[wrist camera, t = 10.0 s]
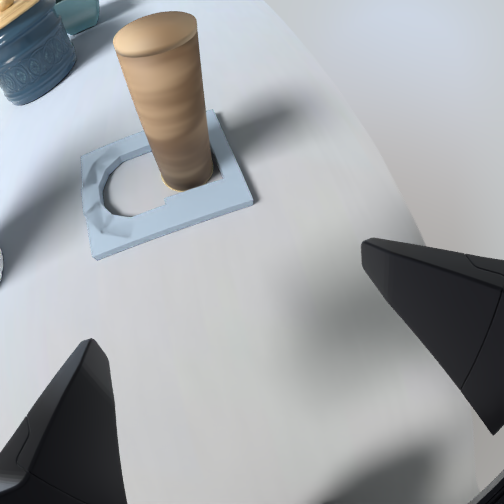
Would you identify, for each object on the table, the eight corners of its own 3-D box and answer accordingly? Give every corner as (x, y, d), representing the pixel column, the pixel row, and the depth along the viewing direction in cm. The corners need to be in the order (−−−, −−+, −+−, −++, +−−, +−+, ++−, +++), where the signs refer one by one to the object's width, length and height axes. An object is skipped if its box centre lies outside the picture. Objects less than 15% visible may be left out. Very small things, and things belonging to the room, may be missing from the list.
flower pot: (105, 10, 37) (95, -23, 29) (107, 24, 35) (96, -14, 27) (65, 28, 36) (52, -4, 27) (62, 44, 34) (47, 8, 25)
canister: (81, 42, 33) (54, -37, 17) (74, 82, 30) (31, -16, 13) (19, 74, 32) (-18, 6, 15) (3, 120, 28) (-51, 43, 11)
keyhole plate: (95, 261, 23) (90, 257, 22) (83, 162, 26) (79, 157, 25) (252, 205, 25) (253, 199, 24) (213, 115, 28) (213, 109, 27)
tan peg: (184, 200, 24) (140, 59, 11) (152, 171, 25) (99, 39, 12) (223, 167, 26) (214, 22, 12) (189, 141, 26) (164, 6, 13)
